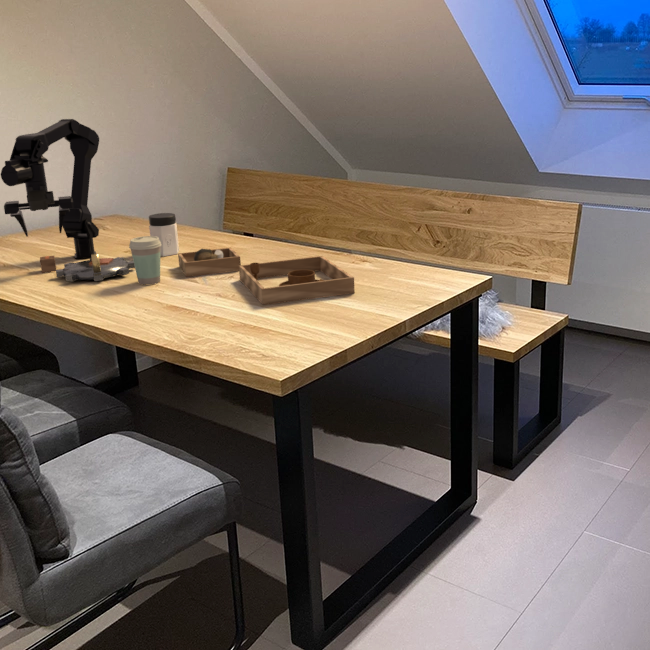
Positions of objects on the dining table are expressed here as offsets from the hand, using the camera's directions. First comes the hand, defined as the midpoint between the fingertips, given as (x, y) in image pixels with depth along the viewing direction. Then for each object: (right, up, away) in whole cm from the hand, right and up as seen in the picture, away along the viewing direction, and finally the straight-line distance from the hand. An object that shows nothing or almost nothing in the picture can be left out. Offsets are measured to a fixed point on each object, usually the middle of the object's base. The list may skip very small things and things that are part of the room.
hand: (43, 234), depth 231 cm
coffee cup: (+34, -15, -13) cm, 39 cm away
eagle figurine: (+48, -11, -3) cm, 50 cm away
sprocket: (+16, -12, -3) cm, 20 cm away
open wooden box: (+48, -10, -2) cm, 49 cm away
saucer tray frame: (+74, -16, -23) cm, 79 cm away
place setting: (+73, -17, -23) cm, 79 cm away
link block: (0, -10, +3) cm, 11 cm away
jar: (+32, -4, +19) cm, 37 cm away
